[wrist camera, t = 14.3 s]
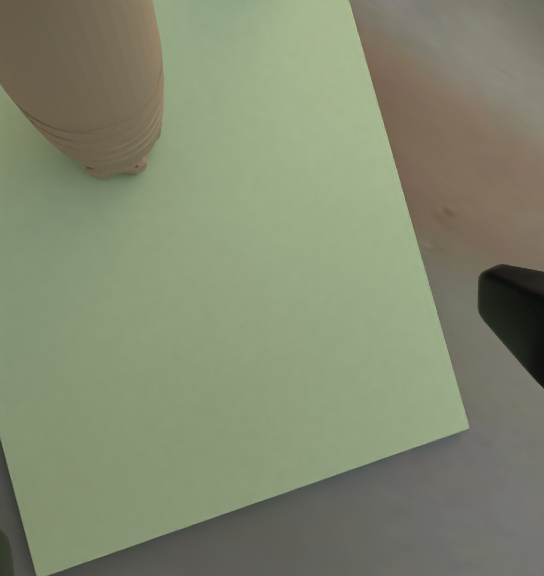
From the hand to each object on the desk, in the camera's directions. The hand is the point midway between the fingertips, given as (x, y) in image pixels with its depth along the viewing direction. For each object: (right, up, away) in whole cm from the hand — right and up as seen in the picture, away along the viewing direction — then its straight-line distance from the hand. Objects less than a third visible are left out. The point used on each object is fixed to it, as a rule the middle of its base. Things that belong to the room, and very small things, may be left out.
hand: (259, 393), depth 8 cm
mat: (-3, +4, +10) cm, 11 cm away
